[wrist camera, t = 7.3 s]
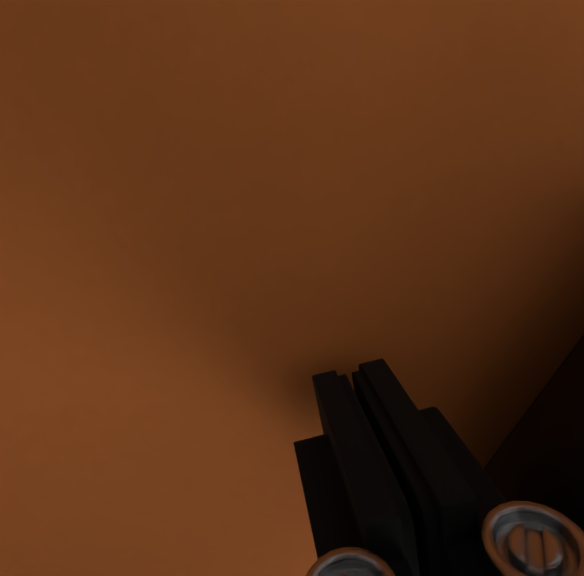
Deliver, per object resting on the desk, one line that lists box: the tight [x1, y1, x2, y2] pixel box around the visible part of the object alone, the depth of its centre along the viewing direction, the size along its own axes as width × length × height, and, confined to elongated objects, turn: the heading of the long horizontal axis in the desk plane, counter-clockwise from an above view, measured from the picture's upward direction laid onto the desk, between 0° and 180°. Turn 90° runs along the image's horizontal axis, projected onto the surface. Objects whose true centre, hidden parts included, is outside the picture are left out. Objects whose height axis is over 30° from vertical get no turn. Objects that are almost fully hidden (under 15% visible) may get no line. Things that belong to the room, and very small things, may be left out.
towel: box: [0, 0, 584, 576], centre depth 10 cm, size 20×22×1 cm
